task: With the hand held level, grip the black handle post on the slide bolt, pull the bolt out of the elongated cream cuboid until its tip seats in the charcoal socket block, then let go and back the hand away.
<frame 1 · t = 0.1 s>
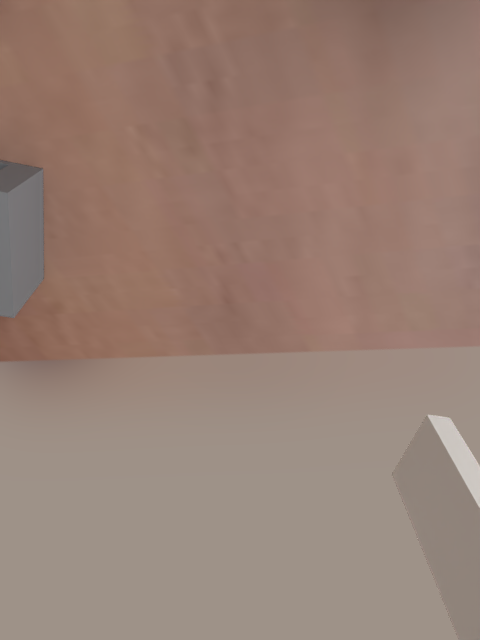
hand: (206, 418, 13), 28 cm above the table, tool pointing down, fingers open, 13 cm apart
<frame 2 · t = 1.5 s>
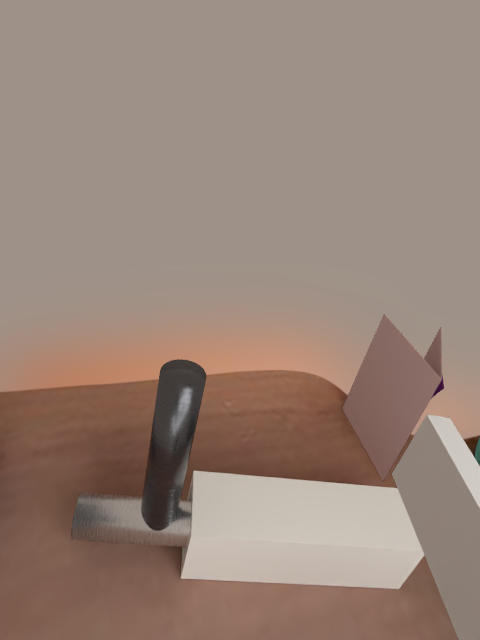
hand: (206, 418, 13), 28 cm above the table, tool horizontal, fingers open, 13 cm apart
elongated cream cuboid: (281, 549, 41), on the table
slide bolt: (251, 472, 34), point 10 cm above the table, slide at 0.0 cm
greeting card: (364, 439, 55), on the table
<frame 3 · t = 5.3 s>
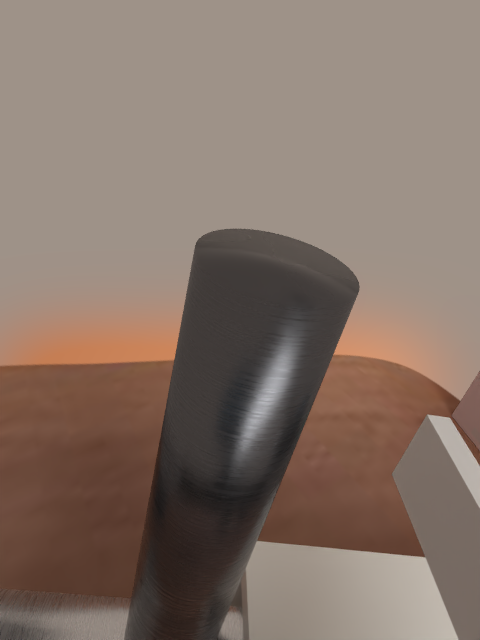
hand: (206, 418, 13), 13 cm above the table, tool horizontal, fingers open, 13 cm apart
slide bolt: (408, 567, 13), point 10 cm above the table, slide at 0.0 cm
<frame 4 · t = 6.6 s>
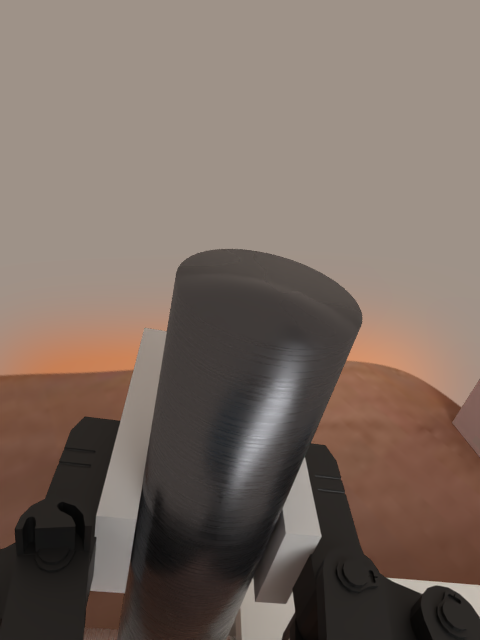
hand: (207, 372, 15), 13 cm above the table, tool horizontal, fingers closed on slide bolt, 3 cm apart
slide bolt: (413, 602, 13), point 10 cm above the table, slide at 0.0 cm, touching gripper
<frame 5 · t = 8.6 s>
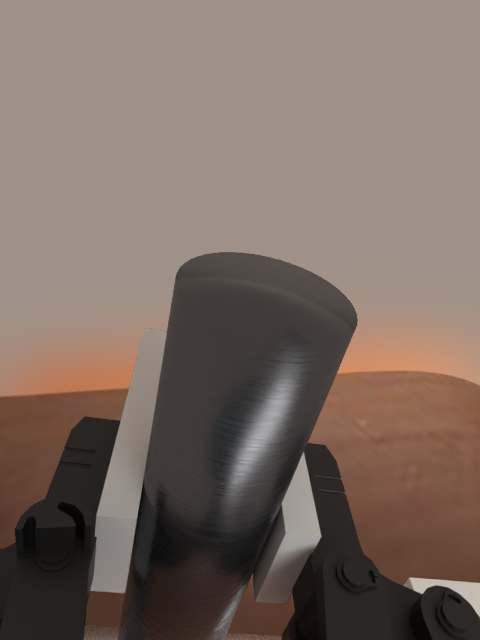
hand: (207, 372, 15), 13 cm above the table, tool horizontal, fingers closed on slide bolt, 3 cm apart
slide bolt: (410, 599, 13), point 10 cm above the table, slide at 7.0 cm, touching gripper
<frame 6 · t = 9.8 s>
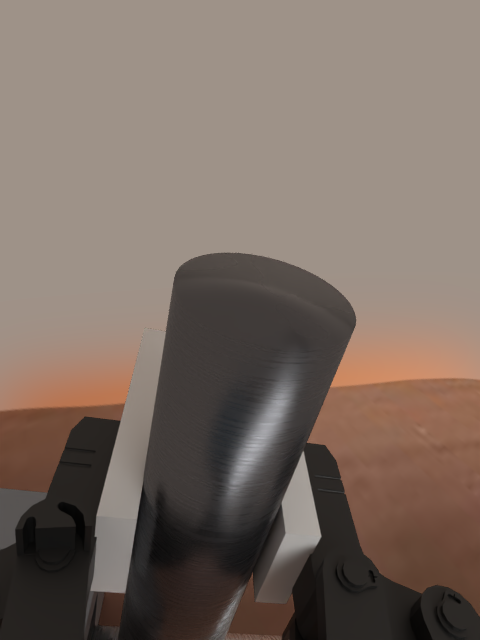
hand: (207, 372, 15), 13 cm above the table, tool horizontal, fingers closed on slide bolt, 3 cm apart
slide bolt: (410, 600, 13), point 10 cm above the table, slide at 12.0 cm, touching gripper
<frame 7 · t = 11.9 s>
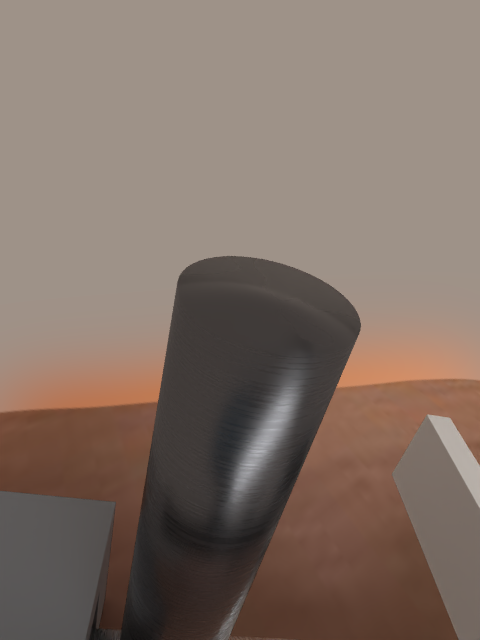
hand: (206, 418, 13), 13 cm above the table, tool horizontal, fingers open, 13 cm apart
slide bolt: (413, 603, 13), point 10 cm above the table, slide at 12.0 cm
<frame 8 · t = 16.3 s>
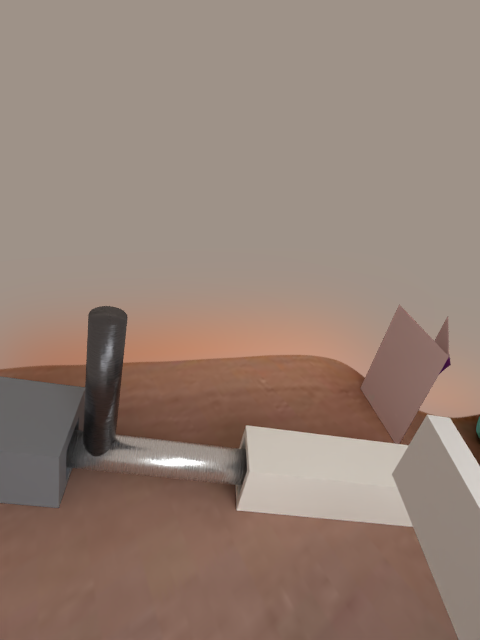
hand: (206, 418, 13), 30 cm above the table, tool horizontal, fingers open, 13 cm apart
elongated cream cuboid: (315, 493, 49), on the table
slide bolt: (173, 407, 41), point 10 cm above the table, slide at 12.0 cm
socket block: (20, 463, 44), on the table
greeting card: (380, 413, 64), on the table
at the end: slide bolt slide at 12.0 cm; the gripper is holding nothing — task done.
